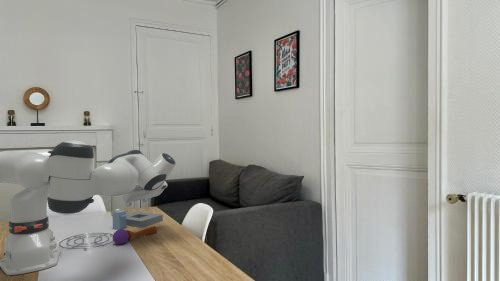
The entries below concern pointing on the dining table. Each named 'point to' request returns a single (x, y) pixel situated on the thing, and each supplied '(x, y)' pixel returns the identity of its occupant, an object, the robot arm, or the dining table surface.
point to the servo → (119, 219)
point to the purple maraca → (130, 234)
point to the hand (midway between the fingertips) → (135, 203)
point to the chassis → (142, 219)
